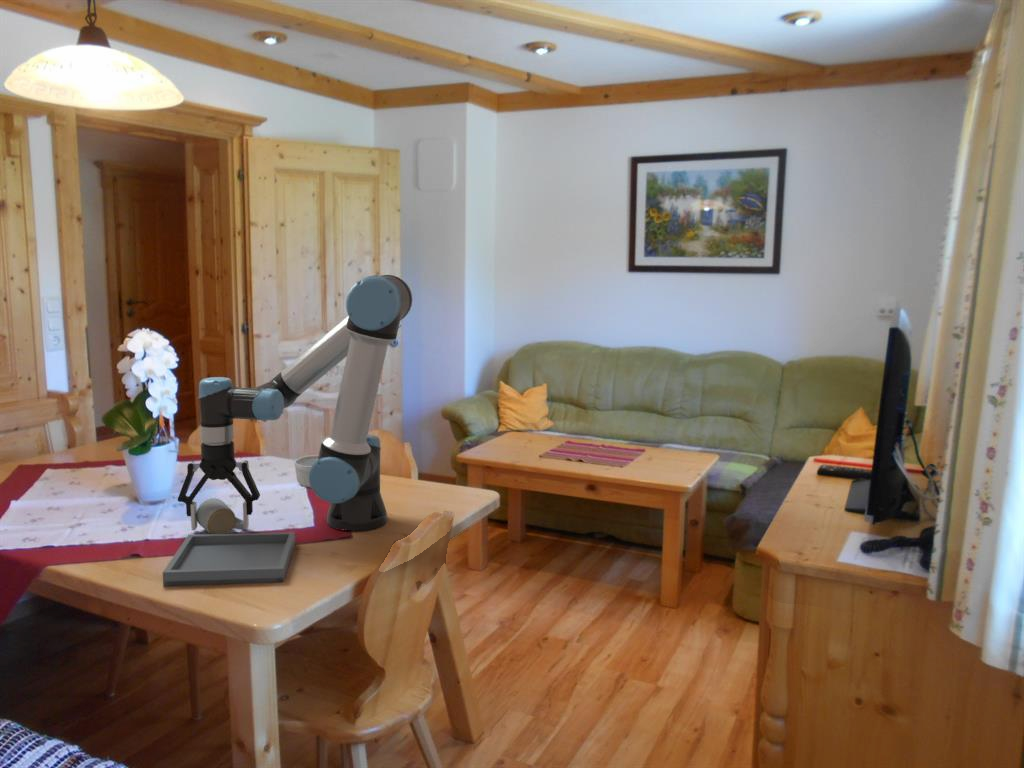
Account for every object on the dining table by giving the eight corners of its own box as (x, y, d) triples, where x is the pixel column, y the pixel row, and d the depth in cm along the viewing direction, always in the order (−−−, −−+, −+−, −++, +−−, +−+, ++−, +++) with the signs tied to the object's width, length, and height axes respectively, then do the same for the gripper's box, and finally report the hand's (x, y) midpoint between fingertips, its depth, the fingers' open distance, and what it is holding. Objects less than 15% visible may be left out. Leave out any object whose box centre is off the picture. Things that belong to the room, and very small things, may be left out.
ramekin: (316, 492, 230) (315, 468, 229) (284, 483, 237) (284, 461, 236) (349, 481, 241) (348, 459, 240) (318, 474, 248) (317, 452, 247)
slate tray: (295, 544, 189) (294, 532, 189) (283, 582, 168) (283, 568, 167) (188, 547, 185) (188, 534, 185) (163, 586, 164) (162, 572, 164)
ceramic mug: (208, 540, 190) (207, 509, 189) (195, 530, 196) (195, 500, 195) (251, 532, 197) (251, 502, 196) (238, 522, 203) (237, 493, 202)
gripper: (270, 437, 198) (272, 521, 201) (169, 438, 194) (173, 524, 198) (266, 444, 190) (268, 531, 194) (161, 445, 187) (165, 534, 190)
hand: (220, 527), depth 196 cm, fingers closed on ceramic mug, 11 cm apart
